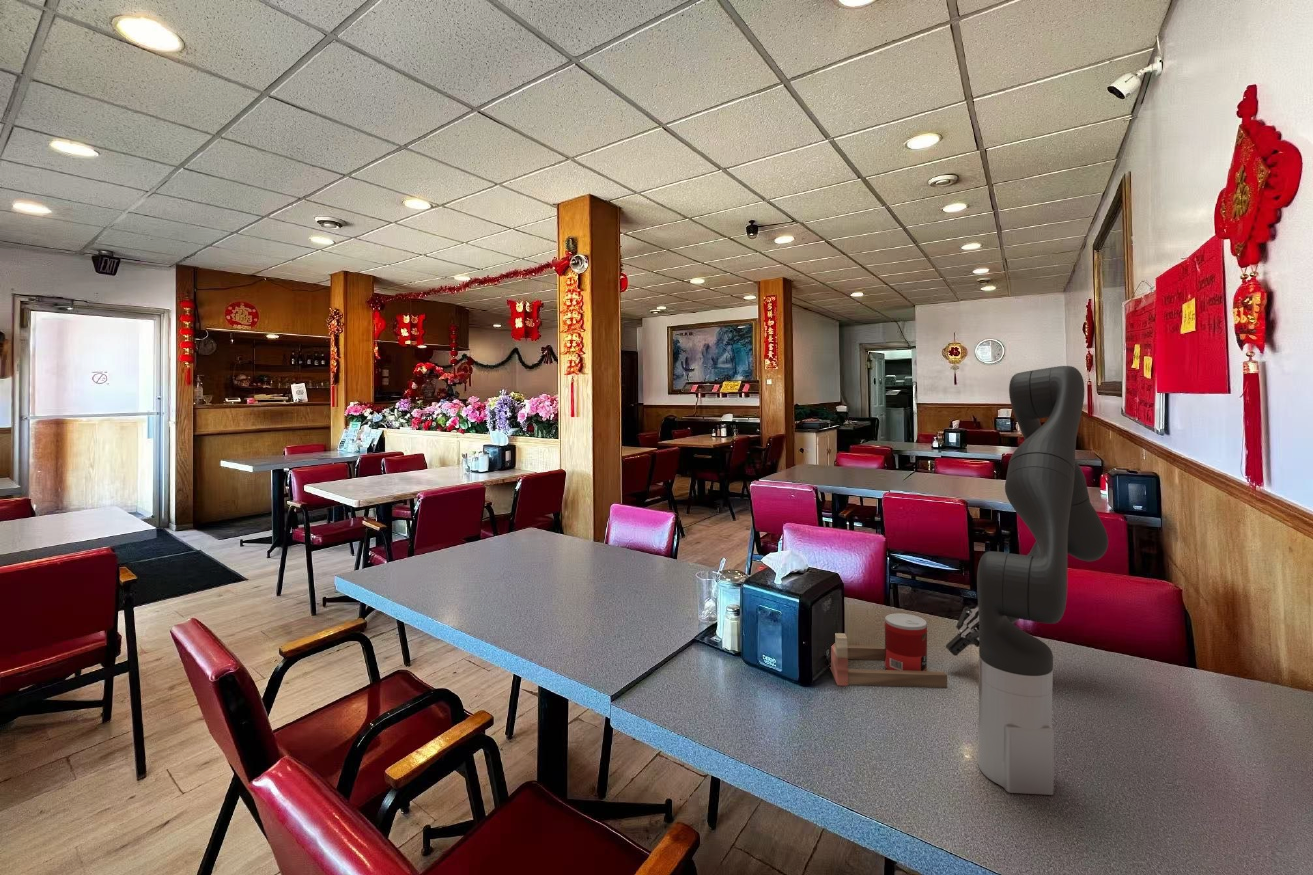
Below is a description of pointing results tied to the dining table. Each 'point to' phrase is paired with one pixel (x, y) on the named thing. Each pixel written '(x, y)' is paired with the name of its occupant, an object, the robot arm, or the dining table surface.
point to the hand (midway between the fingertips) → (950, 651)
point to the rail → (876, 677)
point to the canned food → (905, 642)
